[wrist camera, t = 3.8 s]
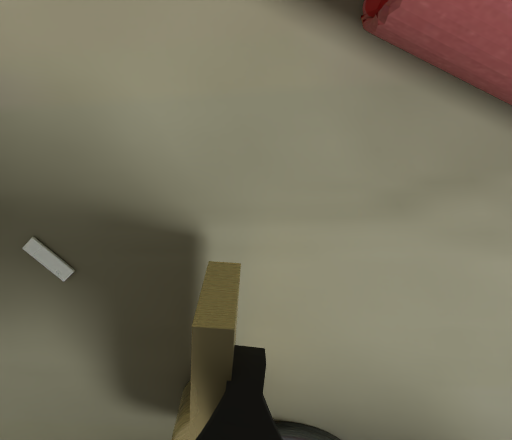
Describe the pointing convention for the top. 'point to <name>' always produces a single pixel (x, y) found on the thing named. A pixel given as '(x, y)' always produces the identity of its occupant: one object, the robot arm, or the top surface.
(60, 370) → the top surface
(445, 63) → the blood vessel
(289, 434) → the base
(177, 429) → the brass knob
